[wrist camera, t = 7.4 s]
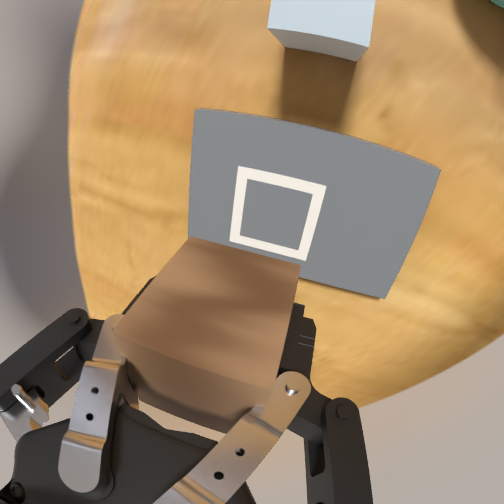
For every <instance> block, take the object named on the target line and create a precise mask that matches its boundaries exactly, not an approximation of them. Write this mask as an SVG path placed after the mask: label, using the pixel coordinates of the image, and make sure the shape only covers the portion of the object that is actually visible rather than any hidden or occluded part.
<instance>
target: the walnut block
mask: <svg viewBox="0 0 504 504" xmlns="http://www.w3.org/2000/svg"><path fill="white" fill-rule="evenodd" d="M300 268H301V265H298V264H295V263H291V262H287V261H283V260H279V259H276V258H272V257H268V256H264V255H260V254H256V253H253V252H249V251H245V250H241V249H237V248H234V247H230V246H226V245H222V244H218V243H215V242H211V241H207V240H203V239H199V238H195V237H192V236H190V238H189V239H188V240H187V241H186V242H185V243H184V244H183V246H182V247H181V248H180V249H179V250H178V251H177V252H176V254H175V255H174V256H173V257H172V258H171V259H170V261H169V262H168V263H167V264H166V265H165V266H164V268H163V269H162V270H161V271H160V272H159V273H158V275H157V276H156V277H155V278H154V279H153V281H152V282H151V283H150V284H149V285H148V287H147V288H146V289H145V290H144V292H143V293H142V294H141V295H140V296H139V298H138V299H137V300H136V301H135V303H134V304H133V305H132V306H131V308H130V309H129V310H128V311H127V313H126V314H125V315H124V316H123V318H122V319H121V320H120V322H119V323H118V324H117V325H116V327H115V328H114V329H113V331H112V334H113V337H114V339H115V342H116V345H117V348H118V350H119V353H120V355H122V356H124V357H126V359H127V361H128V364H129V365H128V371H127V373H128V375H129V378H130V380H131V382H133V383H135V384H137V386H138V389H139V390H138V398H139V400H141V401H142V402H145V403H147V404H149V405H151V406H153V407H156V408H158V409H160V410H163V411H165V412H167V413H170V414H172V415H175V416H177V417H180V418H183V419H185V420H187V421H190V422H193V423H195V424H198V425H201V426H204V427H207V428H210V429H213V430H216V431H219V432H222V433H225V434H227V433H228V432H229V431H230V430H231V429H232V428H233V427H234V425H235V424H236V423H237V422H238V421H239V420H240V419H241V418H242V417H243V416H244V415H245V414H246V413H249V412H250V411H251V410H252V408H253V407H254V406H255V405H257V406H261V407H264V408H265V406H266V404H267V402H268V400H269V398H270V396H271V394H272V391H273V388H274V384H275V381H276V377H277V373H278V368H279V364H280V360H281V356H282V352H283V348H284V343H285V339H286V335H287V330H288V326H289V321H290V317H291V312H292V307H293V303H294V298H295V293H296V288H297V283H298V278H299V273H300Z"/></svg>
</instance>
